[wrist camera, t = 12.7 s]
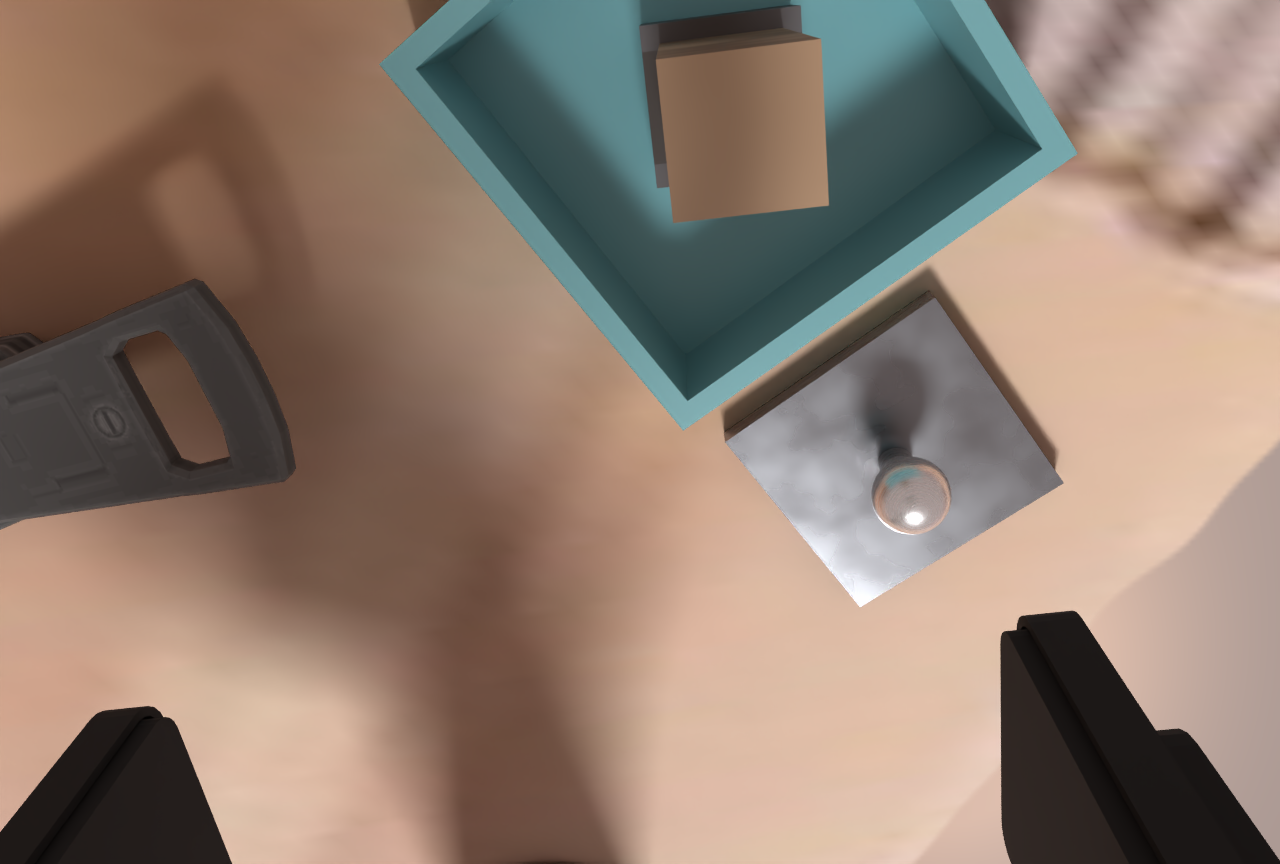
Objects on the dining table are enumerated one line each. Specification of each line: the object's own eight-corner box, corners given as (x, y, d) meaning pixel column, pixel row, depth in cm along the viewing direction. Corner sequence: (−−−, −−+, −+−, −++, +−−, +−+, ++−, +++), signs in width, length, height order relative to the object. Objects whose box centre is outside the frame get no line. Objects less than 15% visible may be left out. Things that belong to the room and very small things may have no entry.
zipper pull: (312, 492, 37) (-254, 656, 41) (362, 422, 43) (-134, 569, 47) (198, 261, 34) (-408, 461, 37) (270, 220, 40) (-257, 396, 43)
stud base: (1055, 472, 43) (1106, 536, 38) (856, 594, 46) (879, 669, 41) (928, 290, 40) (966, 333, 35) (724, 432, 43) (731, 491, 38)
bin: (1017, 130, 38) (1077, 153, 32) (681, 372, 42) (683, 430, 36) (773, -263, 33) (793, -315, 27) (422, 54, 37) (379, 64, 32)
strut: (790, 4, 35) (845, 8, 24) (799, 157, 37) (853, 226, 26) (641, 23, 36) (628, 36, 24) (658, 174, 38) (652, 248, 27)
